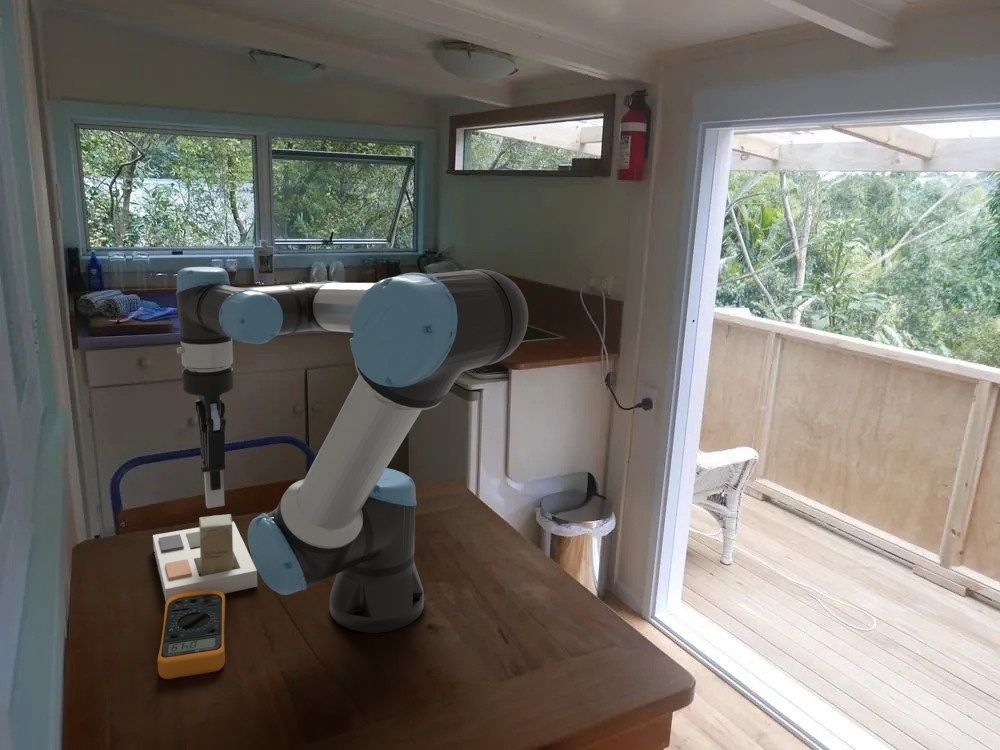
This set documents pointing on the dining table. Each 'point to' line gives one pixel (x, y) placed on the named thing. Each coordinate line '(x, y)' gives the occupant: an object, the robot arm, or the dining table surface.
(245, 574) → the socket board
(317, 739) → the dining table surface
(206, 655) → the multimeter
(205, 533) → the box
